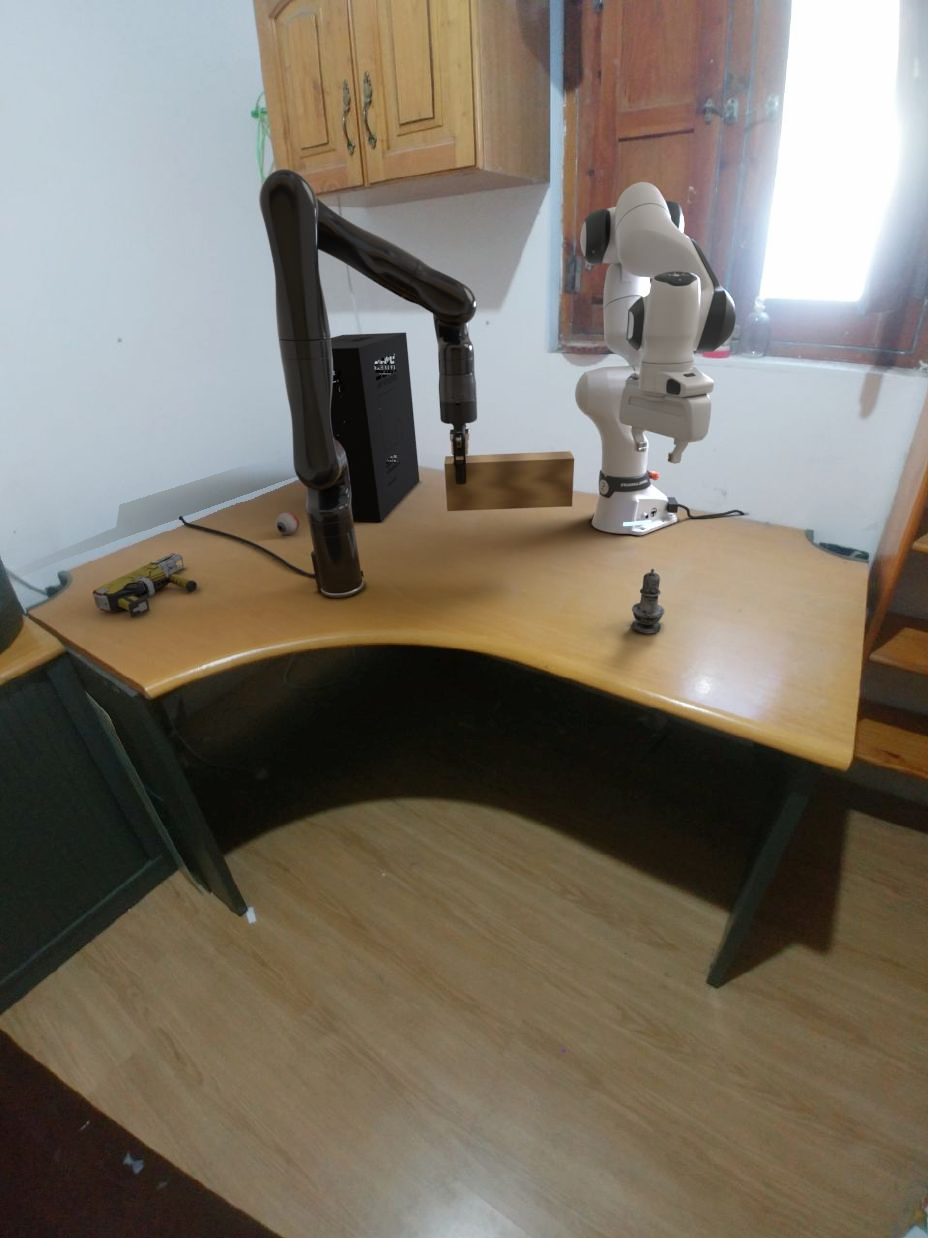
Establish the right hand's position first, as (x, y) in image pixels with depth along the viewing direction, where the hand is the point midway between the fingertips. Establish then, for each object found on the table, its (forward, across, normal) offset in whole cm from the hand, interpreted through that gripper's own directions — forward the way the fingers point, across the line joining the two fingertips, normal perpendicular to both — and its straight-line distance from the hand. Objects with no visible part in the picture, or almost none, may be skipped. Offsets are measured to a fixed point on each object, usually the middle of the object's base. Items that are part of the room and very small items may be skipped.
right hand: (656, 456), depth 113 cm
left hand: (+6, -28, -28) cm, 40 cm away
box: (+13, -24, -19) cm, 33 cm away
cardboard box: (+28, -90, -32) cm, 99 cm away
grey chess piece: (+28, +12, -9) cm, 32 cm away
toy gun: (+28, -53, -93) cm, 111 cm away
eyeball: (+28, -74, -60) cm, 99 cm away
